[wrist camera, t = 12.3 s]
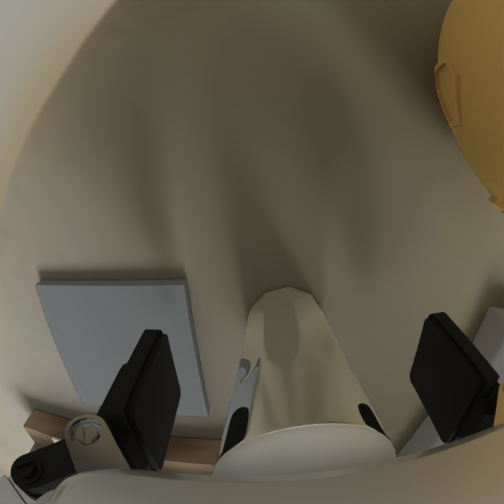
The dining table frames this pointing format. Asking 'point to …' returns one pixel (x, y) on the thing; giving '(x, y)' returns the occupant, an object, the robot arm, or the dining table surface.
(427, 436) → the grey electronic device
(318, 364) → the milkshake
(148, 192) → the dining table surface
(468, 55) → the stress ball
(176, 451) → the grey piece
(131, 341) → the mat
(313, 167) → the dining table surface
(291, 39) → the dining table surface
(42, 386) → the dining table surface
